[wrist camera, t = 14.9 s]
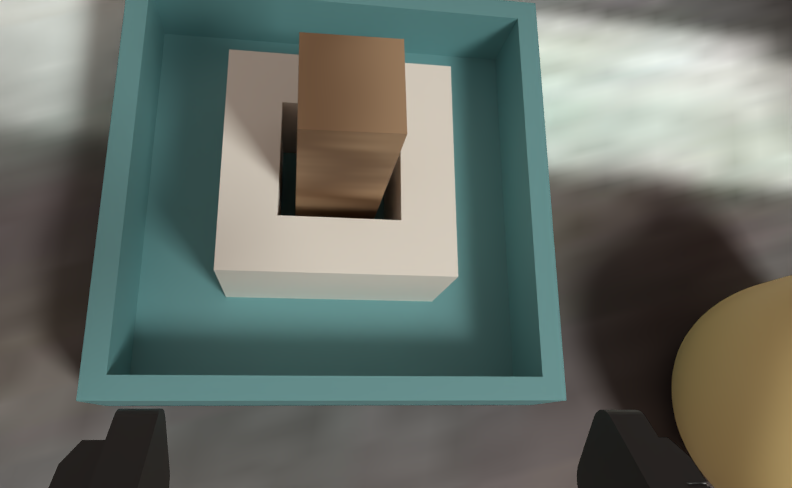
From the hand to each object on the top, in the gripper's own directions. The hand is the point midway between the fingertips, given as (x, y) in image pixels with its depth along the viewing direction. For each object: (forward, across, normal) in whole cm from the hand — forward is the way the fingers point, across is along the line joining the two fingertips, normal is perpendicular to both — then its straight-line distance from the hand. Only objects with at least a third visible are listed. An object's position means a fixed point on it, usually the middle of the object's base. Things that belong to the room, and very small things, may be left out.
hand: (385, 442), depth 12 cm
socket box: (+22, 0, +6) cm, 23 cm away
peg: (+22, 0, +5) cm, 22 cm away
